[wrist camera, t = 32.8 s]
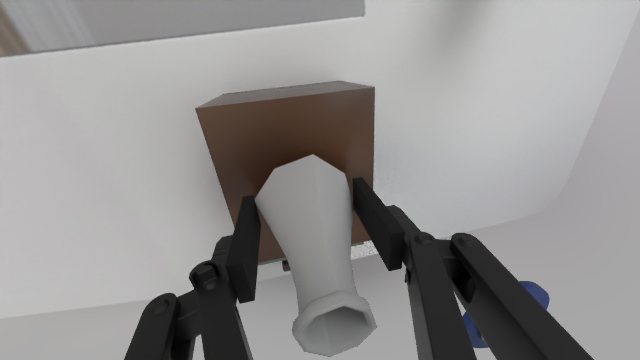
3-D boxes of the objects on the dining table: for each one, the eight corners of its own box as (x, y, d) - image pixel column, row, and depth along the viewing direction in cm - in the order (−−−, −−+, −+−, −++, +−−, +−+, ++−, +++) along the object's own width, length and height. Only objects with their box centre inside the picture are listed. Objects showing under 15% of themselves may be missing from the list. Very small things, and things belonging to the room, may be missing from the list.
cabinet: (346, 194, 32) (372, 240, 23) (254, 210, 30) (246, 265, 22) (340, 80, 25) (375, 86, 17) (223, 93, 24) (194, 108, 15)
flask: (298, 251, 20) (318, 399, 11) (236, 197, 16) (190, 345, 8) (367, 202, 19) (450, 321, 10) (314, 135, 16) (367, 222, 7)
